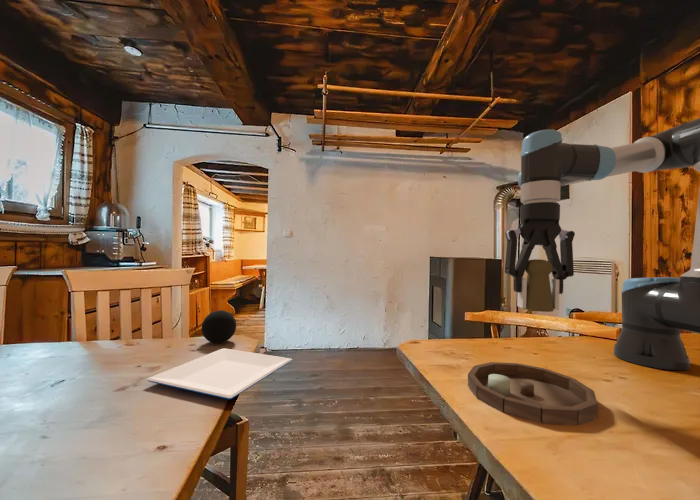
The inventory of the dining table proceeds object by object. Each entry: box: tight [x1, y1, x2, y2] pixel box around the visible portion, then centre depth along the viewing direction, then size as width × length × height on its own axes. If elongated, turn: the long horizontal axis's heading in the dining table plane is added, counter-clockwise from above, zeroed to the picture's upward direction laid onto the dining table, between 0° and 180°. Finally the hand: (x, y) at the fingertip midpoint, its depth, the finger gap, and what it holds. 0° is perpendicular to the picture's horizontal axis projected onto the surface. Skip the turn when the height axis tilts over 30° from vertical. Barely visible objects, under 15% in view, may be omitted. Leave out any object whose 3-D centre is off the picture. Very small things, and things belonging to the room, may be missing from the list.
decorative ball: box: [201, 310, 237, 344], centre depth 96 cm, size 10×10×10 cm
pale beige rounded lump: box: [488, 374, 510, 397], centre depth 62 cm, size 4×4×3 cm
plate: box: [146, 347, 293, 400], centre depth 71 cm, size 22×22×2 cm
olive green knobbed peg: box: [522, 258, 555, 313], centre depth 68 cm, size 6×6×11 cm
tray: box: [467, 361, 598, 426], centre depth 62 cm, size 22×22×3 cm
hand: (537, 307), depth 68 cm, fingers closed on olive green knobbed peg, 6 cm apart
